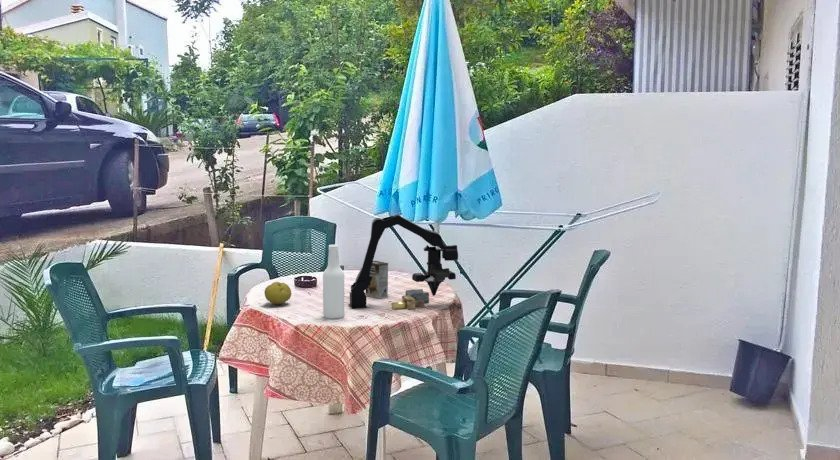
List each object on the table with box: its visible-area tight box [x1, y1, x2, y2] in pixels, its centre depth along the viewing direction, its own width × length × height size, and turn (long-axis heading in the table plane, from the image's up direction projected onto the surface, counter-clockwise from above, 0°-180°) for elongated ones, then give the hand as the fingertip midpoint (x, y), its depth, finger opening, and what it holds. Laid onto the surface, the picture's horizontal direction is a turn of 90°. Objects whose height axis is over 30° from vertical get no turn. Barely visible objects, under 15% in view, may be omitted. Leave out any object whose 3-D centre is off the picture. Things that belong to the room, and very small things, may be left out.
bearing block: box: [401, 294, 416, 311], centre depth 320 cm, size 3×8×4 cm, turn 21°
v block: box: [405, 288, 430, 304], centre depth 331 cm, size 8×9×5 cm
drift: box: [415, 300, 425, 309], centre depth 322 cm, size 5×3×3 cm, turn 111°
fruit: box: [264, 281, 292, 306], centre depth 323 cm, size 11×12×10 cm
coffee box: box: [365, 260, 389, 300], centre depth 340 cm, size 9×6×16 cm
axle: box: [390, 301, 407, 310], centre depth 319 cm, size 9×3×3 cm, turn 111°
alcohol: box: [322, 243, 346, 320], centre depth 302 cm, size 9×9×30 cm
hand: (433, 295), depth 324 cm, fingers closed
